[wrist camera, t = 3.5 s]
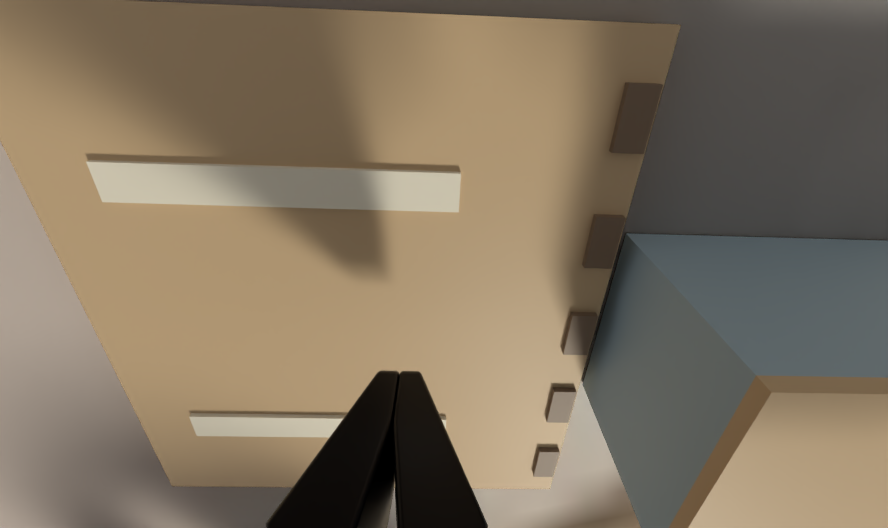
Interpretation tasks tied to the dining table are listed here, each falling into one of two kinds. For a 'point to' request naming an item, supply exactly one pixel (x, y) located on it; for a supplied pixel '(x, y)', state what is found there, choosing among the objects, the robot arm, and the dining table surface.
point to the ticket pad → (332, 214)
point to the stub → (747, 381)
